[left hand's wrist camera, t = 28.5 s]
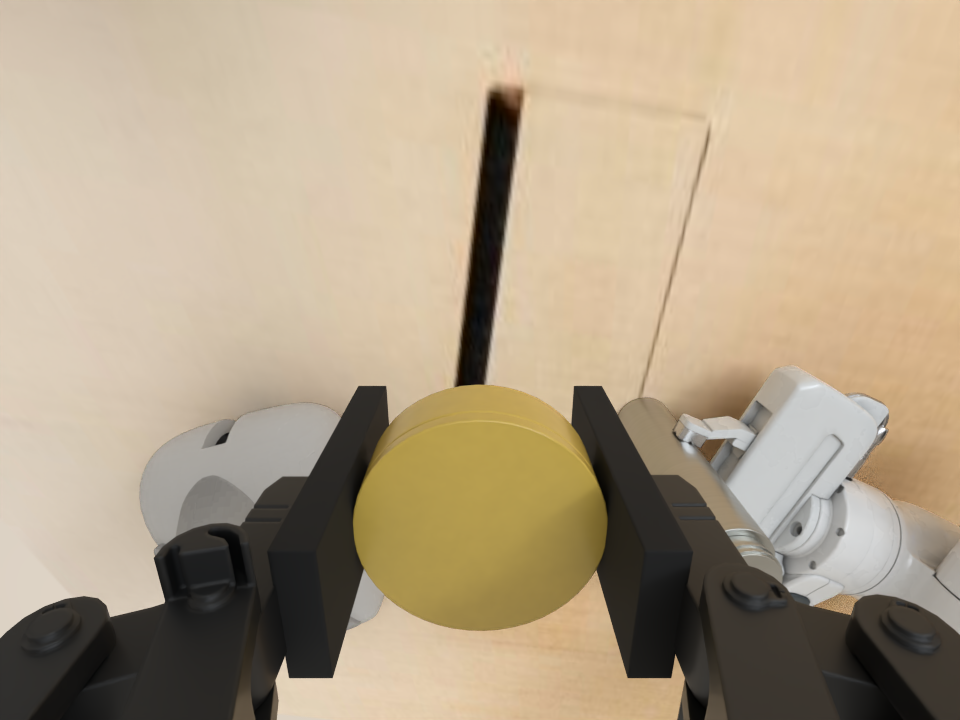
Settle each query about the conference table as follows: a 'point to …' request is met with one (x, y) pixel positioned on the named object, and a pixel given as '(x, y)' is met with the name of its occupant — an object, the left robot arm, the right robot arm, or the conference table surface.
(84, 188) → the conference table surface
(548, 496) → the lid
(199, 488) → the projector
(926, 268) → the conference table surface
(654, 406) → the bottle
